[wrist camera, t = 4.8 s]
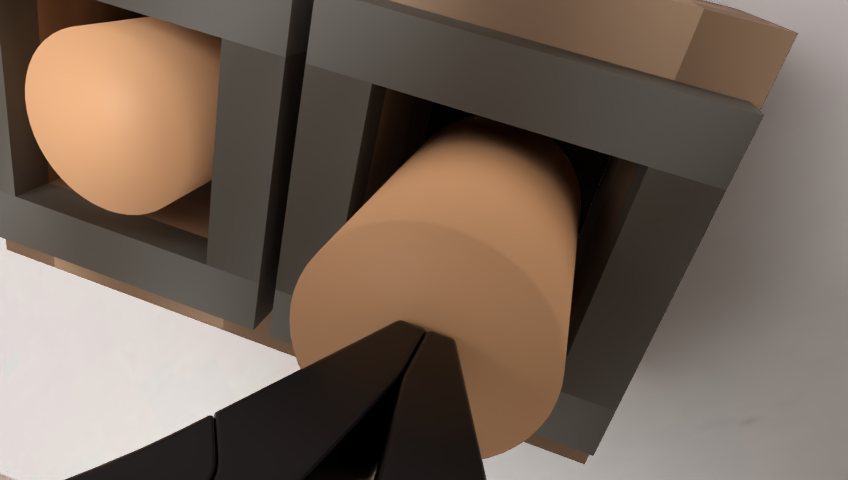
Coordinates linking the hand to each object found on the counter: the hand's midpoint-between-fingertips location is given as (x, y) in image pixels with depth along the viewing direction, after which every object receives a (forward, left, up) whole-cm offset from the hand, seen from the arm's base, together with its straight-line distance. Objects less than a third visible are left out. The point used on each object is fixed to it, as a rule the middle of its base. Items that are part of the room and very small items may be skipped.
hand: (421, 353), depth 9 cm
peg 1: (+8, 0, -10) cm, 12 cm away
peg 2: (0, 0, -6) cm, 6 cm away
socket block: (+4, 0, -10) cm, 10 cm away
